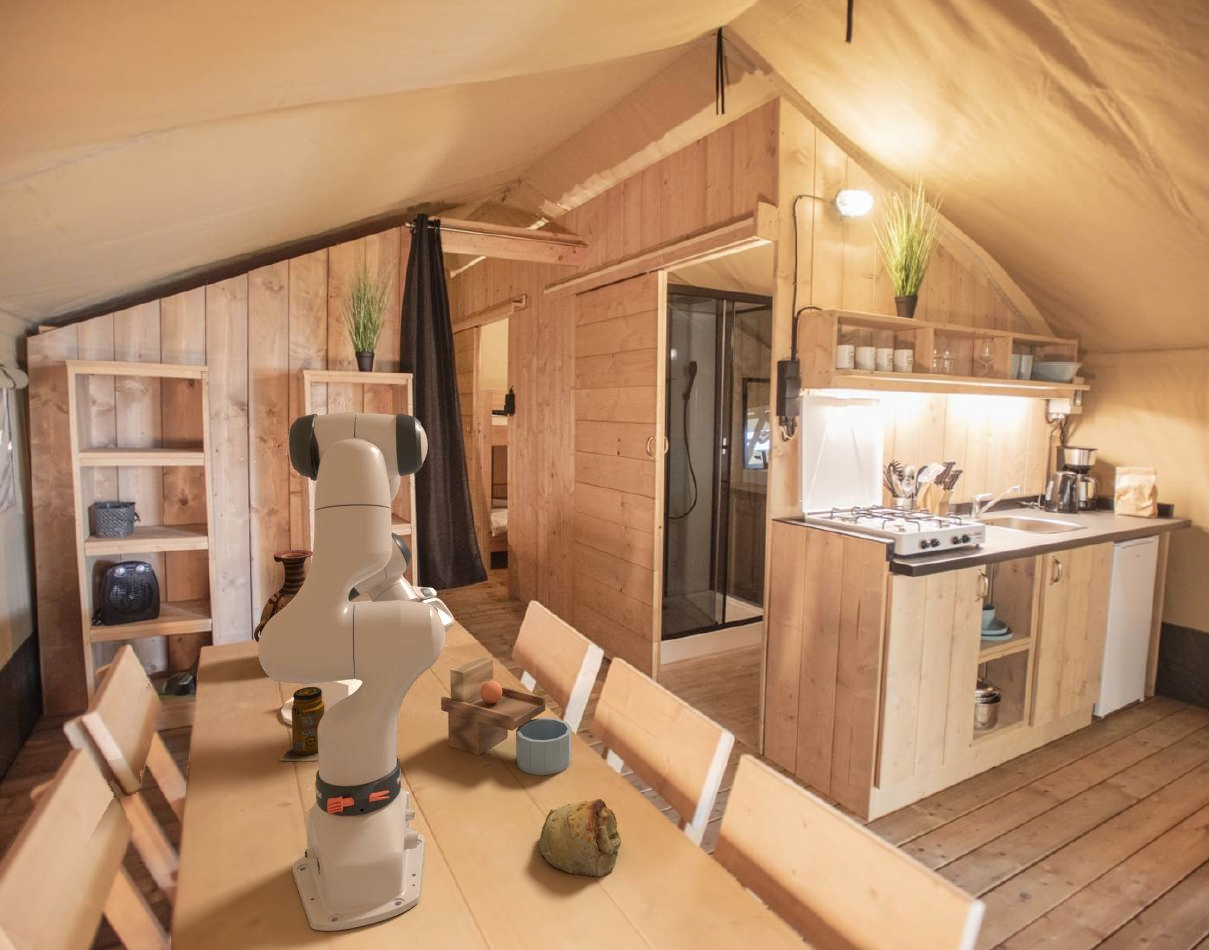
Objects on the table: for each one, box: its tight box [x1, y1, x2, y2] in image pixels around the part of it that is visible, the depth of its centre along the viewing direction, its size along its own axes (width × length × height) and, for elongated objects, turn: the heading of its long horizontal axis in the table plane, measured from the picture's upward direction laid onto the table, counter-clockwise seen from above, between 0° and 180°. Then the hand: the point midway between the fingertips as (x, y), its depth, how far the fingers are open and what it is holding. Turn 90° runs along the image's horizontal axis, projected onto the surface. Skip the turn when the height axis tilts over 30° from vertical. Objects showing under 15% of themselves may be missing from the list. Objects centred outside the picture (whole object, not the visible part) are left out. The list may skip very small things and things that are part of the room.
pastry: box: [538, 798, 622, 878], centre depth 108 cm, size 14×12×8 cm
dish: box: [280, 678, 362, 726], centre depth 162 cm, size 25×25×11 cm
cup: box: [515, 717, 573, 776], centre depth 135 cm, size 10×10×6 cm
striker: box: [449, 656, 494, 704], centre depth 144 cm, size 4×9×7 cm, turn 149°
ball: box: [480, 680, 503, 704], centre depth 141 cm, size 4×4×4 cm
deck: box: [440, 685, 546, 756], centre depth 142 cm, size 18×11×10 cm, turn 59°
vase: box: [253, 549, 313, 643], centre depth 189 cm, size 21×18×30 cm
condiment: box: [279, 687, 324, 762], centre depth 139 cm, size 7×8×12 cm
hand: (432, 656), depth 149 cm, fingers closed
